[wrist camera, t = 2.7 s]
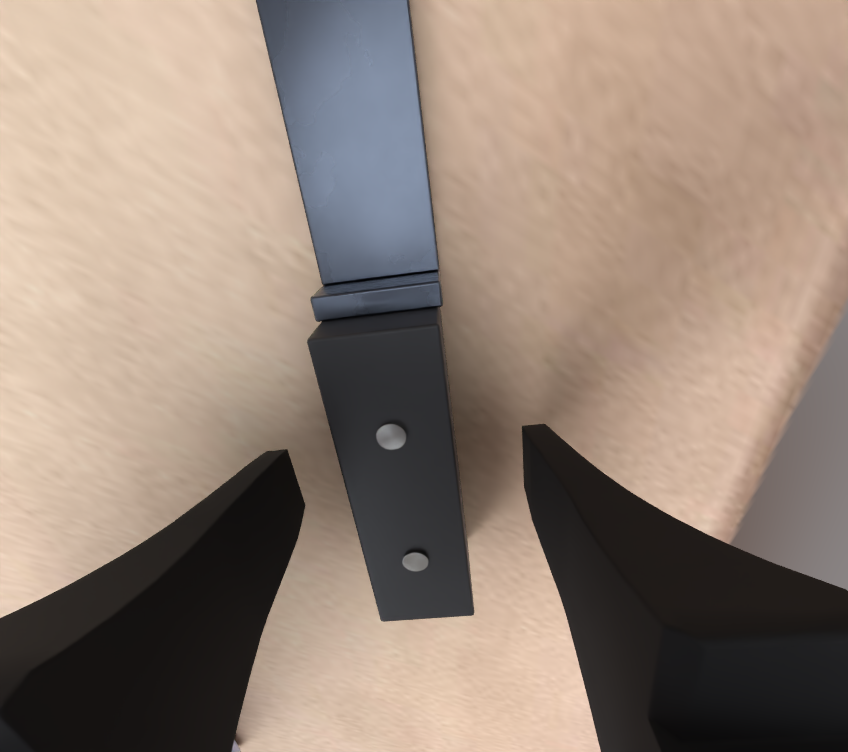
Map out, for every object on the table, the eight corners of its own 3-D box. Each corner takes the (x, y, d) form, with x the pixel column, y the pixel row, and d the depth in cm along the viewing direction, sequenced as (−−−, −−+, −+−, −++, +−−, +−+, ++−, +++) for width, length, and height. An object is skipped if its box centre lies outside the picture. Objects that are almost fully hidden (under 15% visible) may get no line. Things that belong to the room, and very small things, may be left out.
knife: (470, 541, 15) (478, 619, 12) (386, 547, 15) (377, 626, 12) (372, -328, 7) (332, -662, 4) (195, -285, 7) (47, -578, 4)
